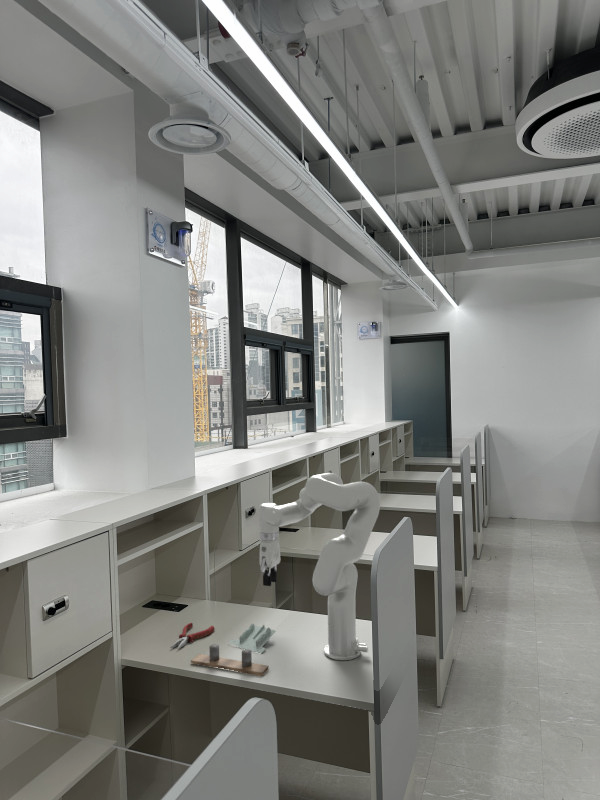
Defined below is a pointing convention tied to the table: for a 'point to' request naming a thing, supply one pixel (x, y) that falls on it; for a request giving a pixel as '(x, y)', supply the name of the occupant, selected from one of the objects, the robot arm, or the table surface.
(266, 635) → the metal bracket
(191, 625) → the pliers
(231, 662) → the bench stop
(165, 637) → the table surface
